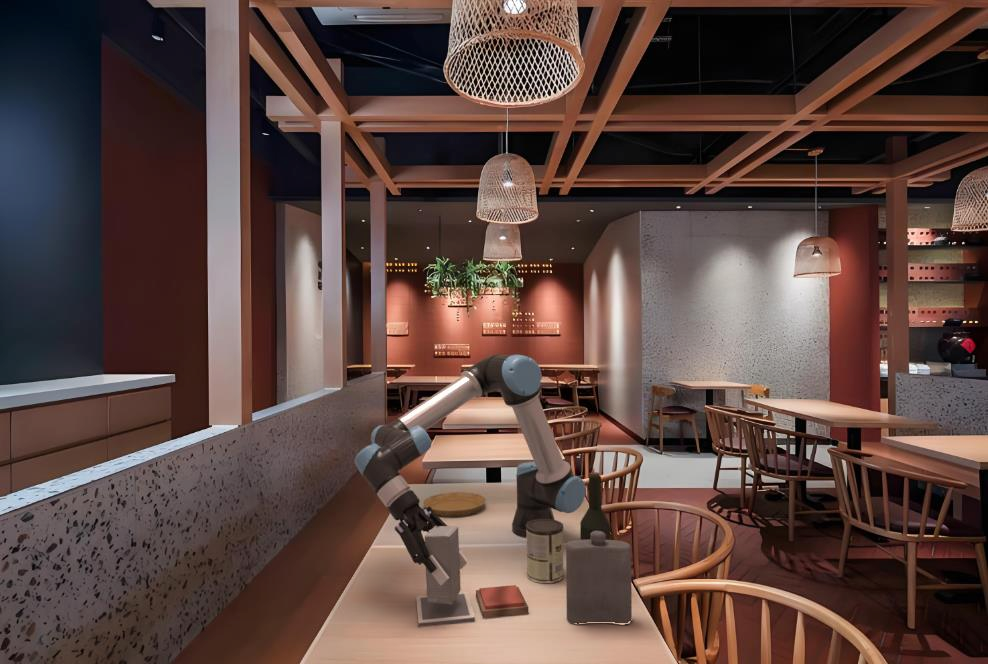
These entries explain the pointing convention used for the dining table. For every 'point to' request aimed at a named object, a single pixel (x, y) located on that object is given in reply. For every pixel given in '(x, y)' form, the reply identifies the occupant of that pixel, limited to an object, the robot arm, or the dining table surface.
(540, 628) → the dining table surface
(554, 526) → the coffee can
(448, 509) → the plant saucer
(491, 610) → the ink pad
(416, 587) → the dining table surface
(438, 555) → the skincare box
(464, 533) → the dining table surface
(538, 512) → the robot arm
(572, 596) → the flask
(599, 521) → the wine bottle
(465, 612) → the marked board
